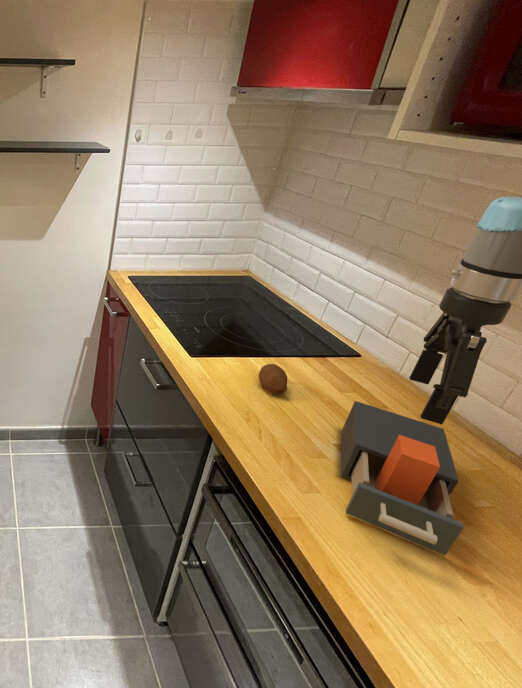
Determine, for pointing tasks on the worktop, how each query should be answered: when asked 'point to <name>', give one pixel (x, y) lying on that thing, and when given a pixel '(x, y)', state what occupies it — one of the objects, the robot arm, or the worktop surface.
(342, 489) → the worktop surface
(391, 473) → the box
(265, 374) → the potato
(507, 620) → the worktop surface
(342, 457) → the cabinet
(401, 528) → the drawer
